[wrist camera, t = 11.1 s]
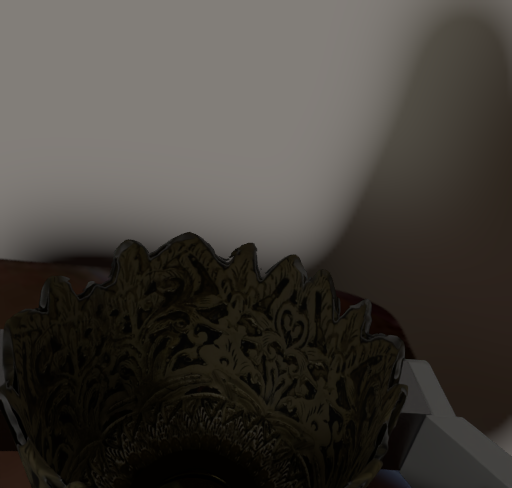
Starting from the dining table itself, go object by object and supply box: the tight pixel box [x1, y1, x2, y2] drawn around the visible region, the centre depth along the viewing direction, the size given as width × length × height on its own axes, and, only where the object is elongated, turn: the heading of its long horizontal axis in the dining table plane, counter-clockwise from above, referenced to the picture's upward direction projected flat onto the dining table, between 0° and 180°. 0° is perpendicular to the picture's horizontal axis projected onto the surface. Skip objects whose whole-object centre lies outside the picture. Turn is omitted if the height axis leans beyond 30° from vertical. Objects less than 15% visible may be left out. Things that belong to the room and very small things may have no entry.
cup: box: [0, 232, 408, 488], centre depth 11 cm, size 8×7×8 cm
